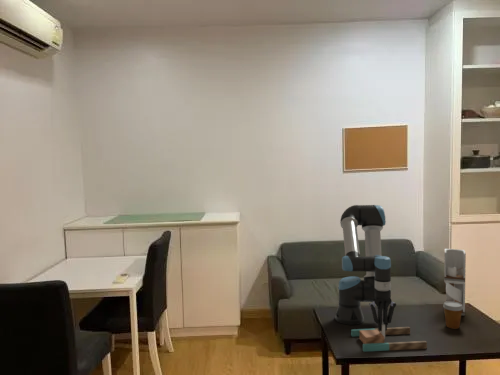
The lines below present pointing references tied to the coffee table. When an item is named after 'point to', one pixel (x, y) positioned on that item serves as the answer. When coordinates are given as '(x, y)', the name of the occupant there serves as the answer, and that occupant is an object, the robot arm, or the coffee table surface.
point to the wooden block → (371, 336)
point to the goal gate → (373, 345)
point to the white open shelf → (455, 276)
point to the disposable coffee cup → (452, 314)
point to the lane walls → (403, 344)
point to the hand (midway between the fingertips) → (382, 337)
